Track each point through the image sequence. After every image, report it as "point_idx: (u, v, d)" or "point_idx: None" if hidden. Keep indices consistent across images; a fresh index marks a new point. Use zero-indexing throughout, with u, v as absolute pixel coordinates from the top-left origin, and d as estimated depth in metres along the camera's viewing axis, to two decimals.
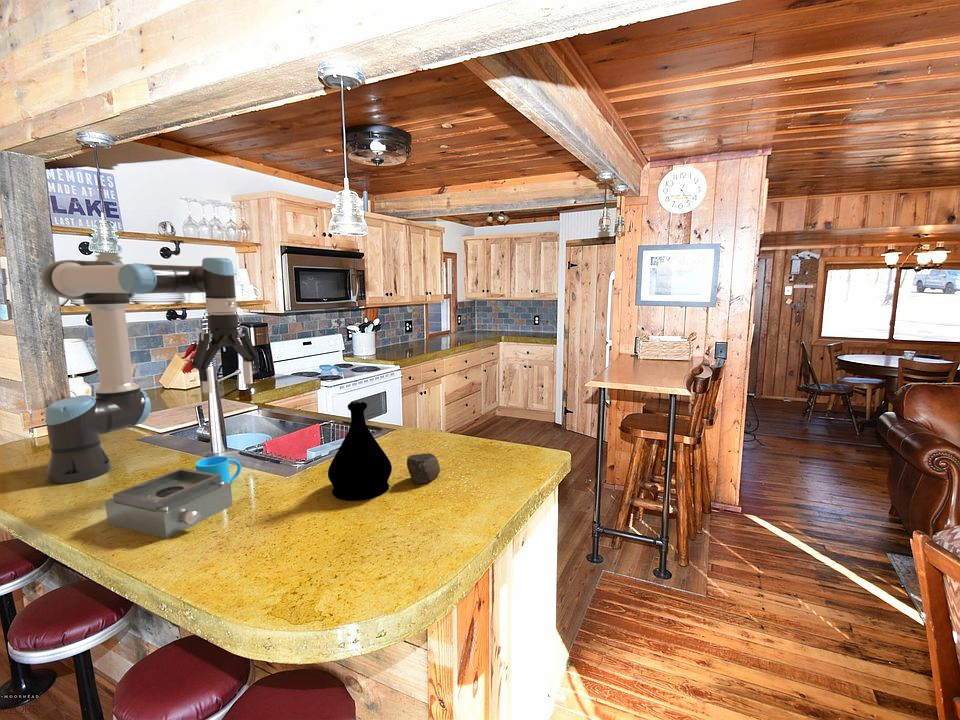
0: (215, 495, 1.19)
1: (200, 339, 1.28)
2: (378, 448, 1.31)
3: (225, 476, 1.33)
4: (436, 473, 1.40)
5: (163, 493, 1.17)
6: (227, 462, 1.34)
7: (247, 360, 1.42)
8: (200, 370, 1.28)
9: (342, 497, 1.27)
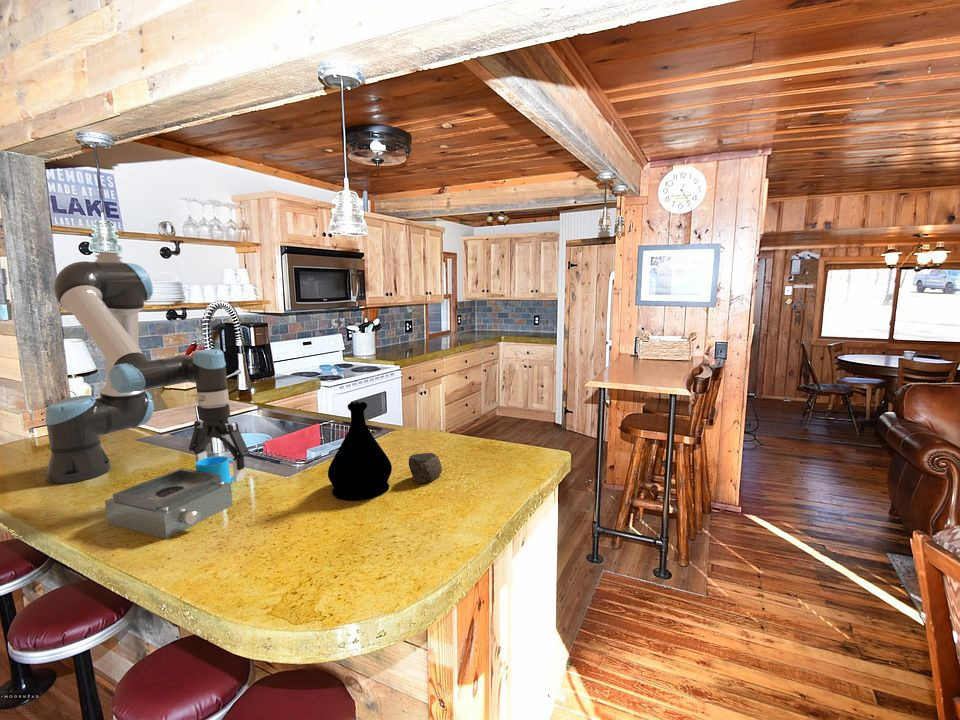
0: (215, 495, 1.19)
1: None
2: (378, 448, 1.31)
3: (225, 476, 1.33)
4: (438, 472, 1.41)
5: (163, 493, 1.17)
6: (227, 462, 1.34)
7: None
8: None
9: (342, 497, 1.27)
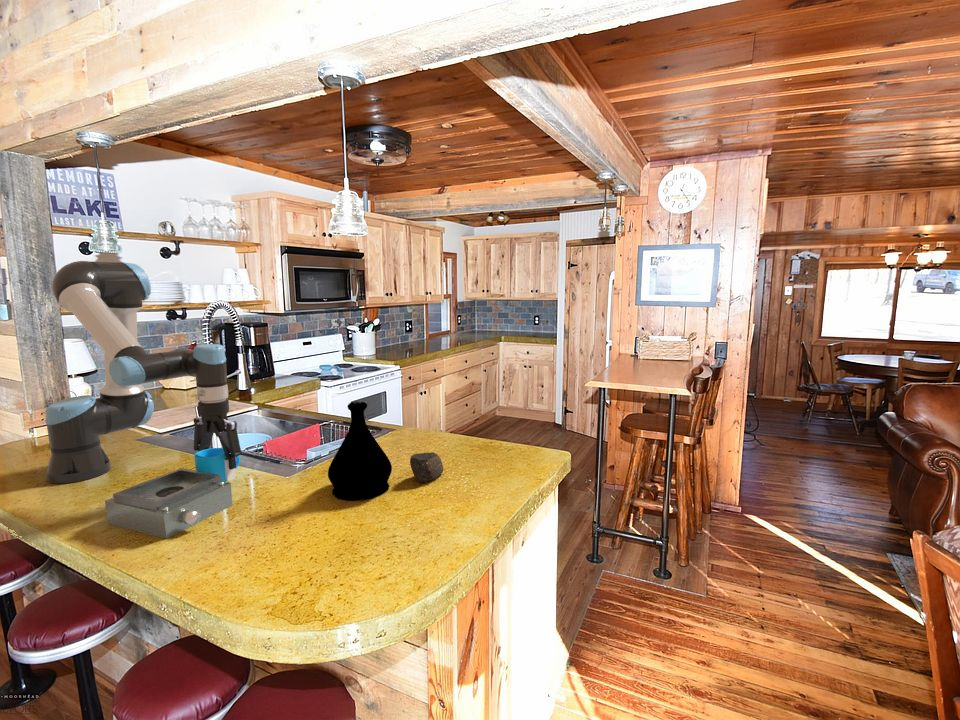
0: (215, 495, 1.19)
1: None
2: (378, 448, 1.31)
3: (224, 468, 1.33)
4: (439, 472, 1.41)
5: (163, 493, 1.17)
6: None
7: None
8: None
9: (342, 497, 1.27)
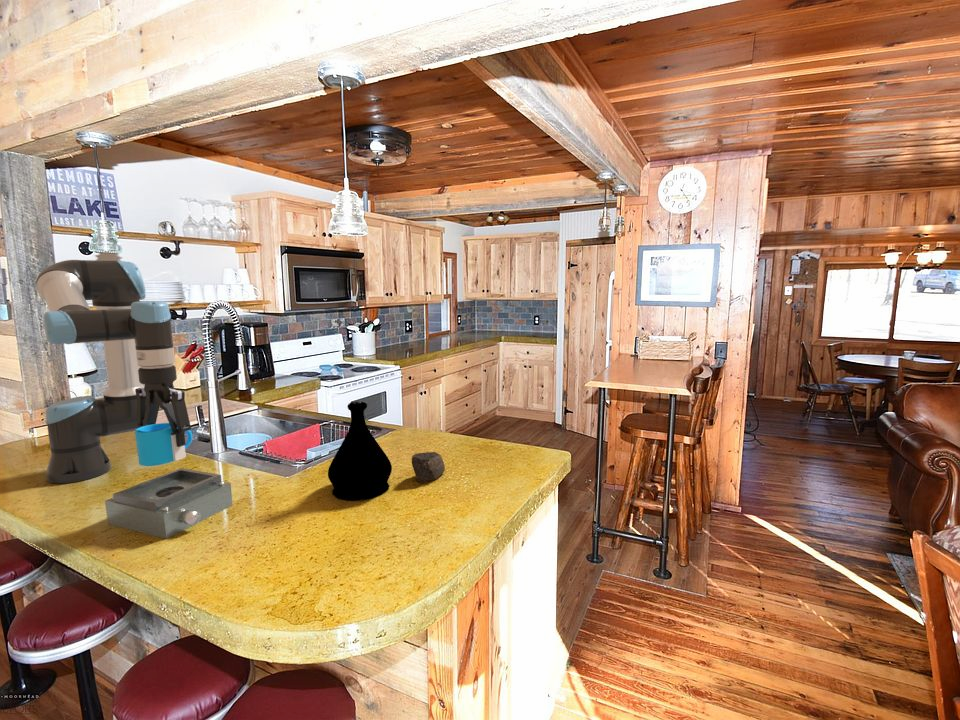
0: (215, 495, 1.19)
1: None
2: (378, 448, 1.31)
3: (171, 445, 1.14)
4: (441, 471, 1.42)
5: (163, 493, 1.17)
6: None
7: None
8: None
9: (342, 497, 1.27)
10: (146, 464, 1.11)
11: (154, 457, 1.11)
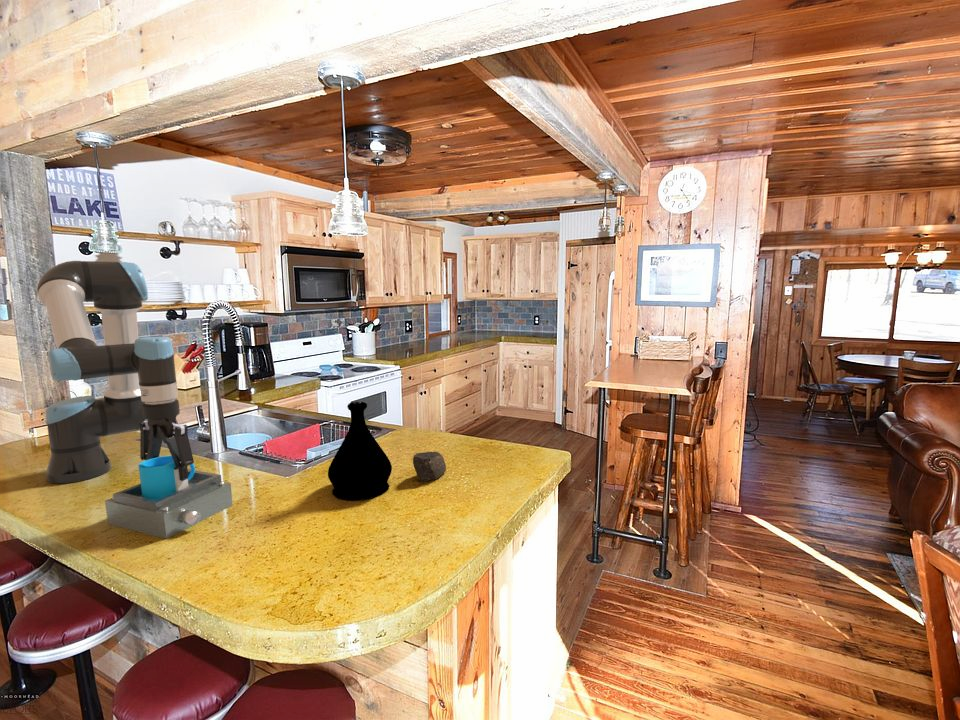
0: (215, 495, 1.19)
1: None
2: (378, 448, 1.31)
3: (174, 479, 1.15)
4: (442, 471, 1.42)
5: None
6: None
7: None
8: None
9: (342, 497, 1.27)
10: None
11: (157, 492, 1.13)
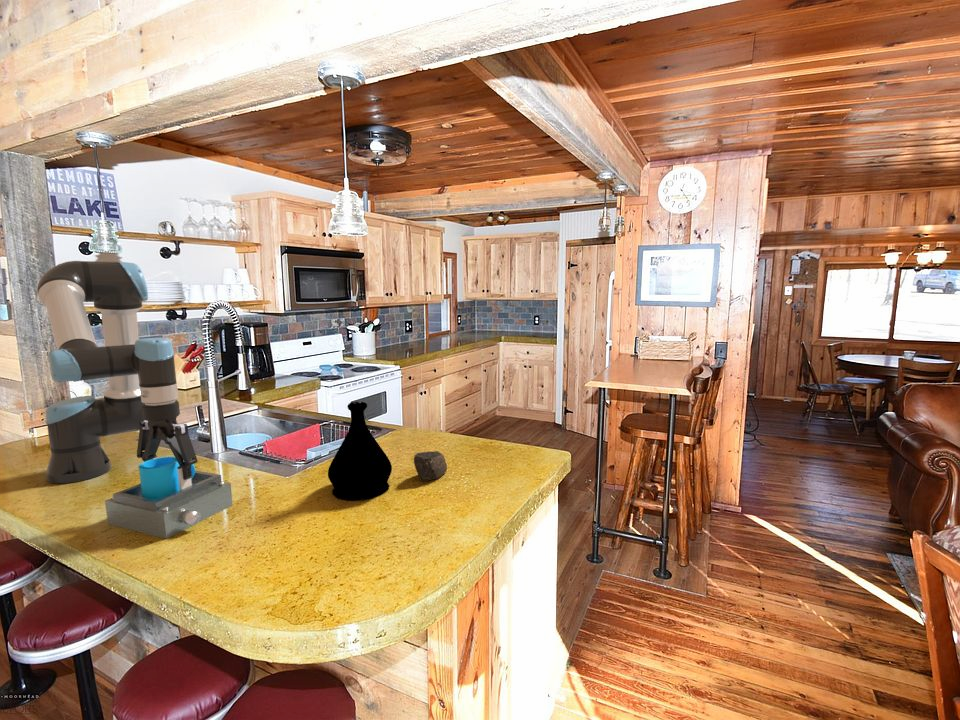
0: (215, 495, 1.19)
1: None
2: (378, 448, 1.31)
3: (174, 480, 1.15)
4: (443, 471, 1.42)
5: None
6: (177, 464, 1.16)
7: None
8: None
9: (342, 497, 1.27)
10: None
11: (157, 493, 1.13)
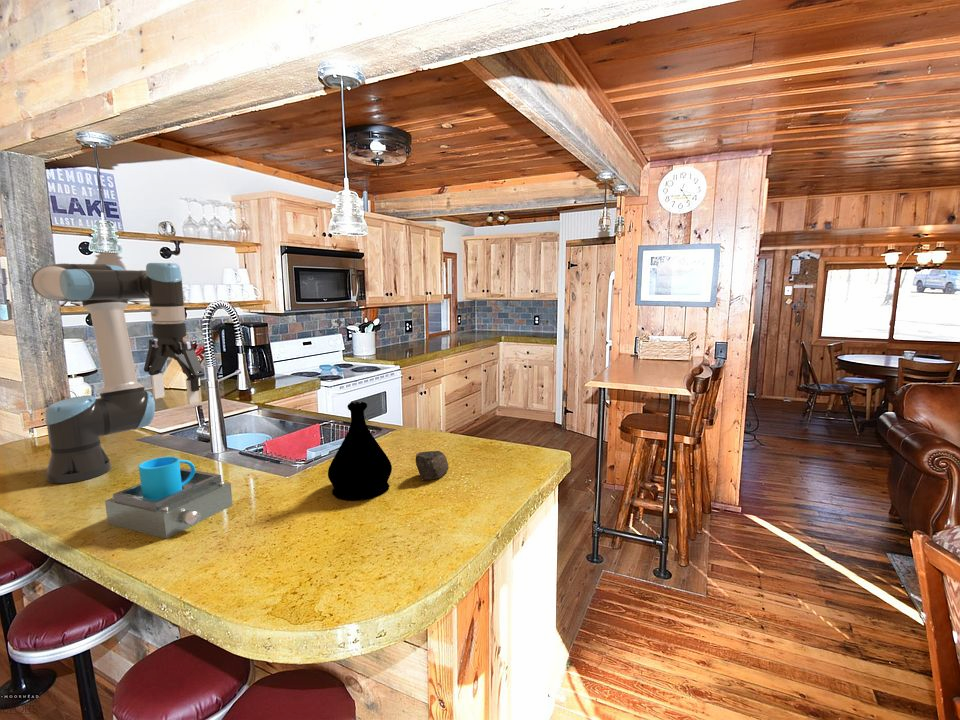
0: (215, 495, 1.19)
1: None
2: (378, 448, 1.31)
3: (174, 480, 1.15)
4: (444, 470, 1.42)
5: None
6: (177, 464, 1.16)
7: None
8: None
9: (342, 497, 1.27)
10: None
11: (157, 493, 1.13)
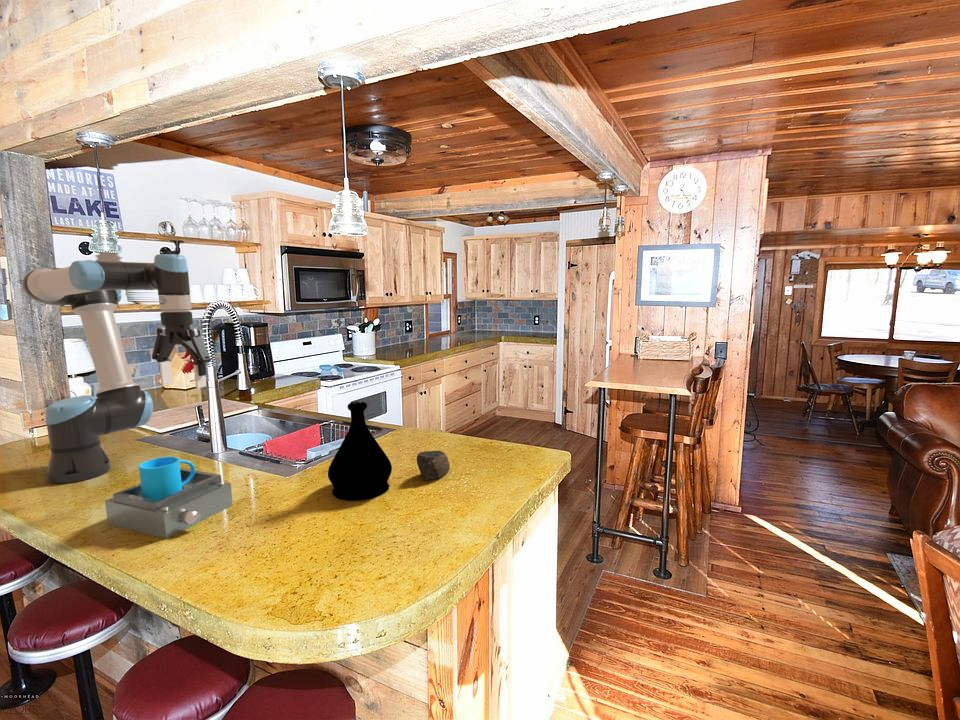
0: (215, 495, 1.19)
1: None
2: (378, 448, 1.31)
3: (174, 480, 1.15)
4: (446, 470, 1.43)
5: None
6: (177, 464, 1.16)
7: None
8: None
9: (342, 497, 1.27)
10: None
11: (157, 493, 1.13)
